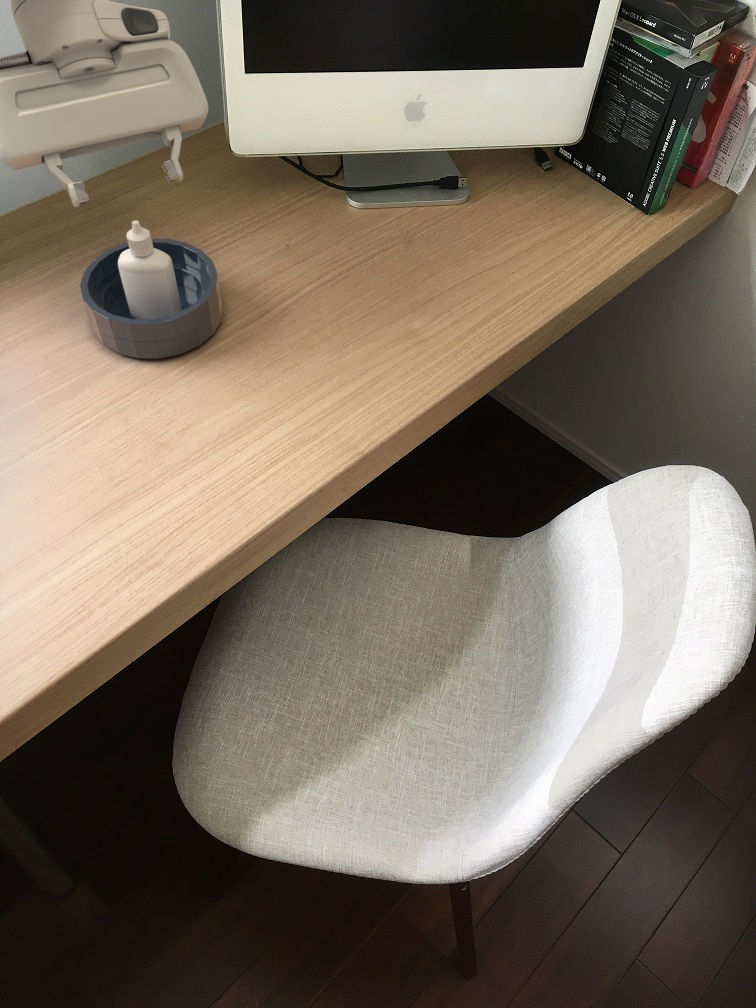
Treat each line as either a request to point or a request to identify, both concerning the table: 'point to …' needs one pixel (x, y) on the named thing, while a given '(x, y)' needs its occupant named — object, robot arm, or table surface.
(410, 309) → the table surface
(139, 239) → the eye dropper bottle
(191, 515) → the table surface
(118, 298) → the bowl
